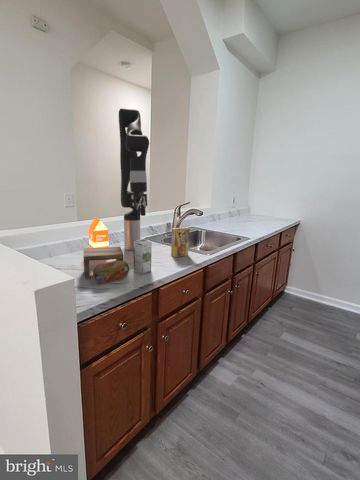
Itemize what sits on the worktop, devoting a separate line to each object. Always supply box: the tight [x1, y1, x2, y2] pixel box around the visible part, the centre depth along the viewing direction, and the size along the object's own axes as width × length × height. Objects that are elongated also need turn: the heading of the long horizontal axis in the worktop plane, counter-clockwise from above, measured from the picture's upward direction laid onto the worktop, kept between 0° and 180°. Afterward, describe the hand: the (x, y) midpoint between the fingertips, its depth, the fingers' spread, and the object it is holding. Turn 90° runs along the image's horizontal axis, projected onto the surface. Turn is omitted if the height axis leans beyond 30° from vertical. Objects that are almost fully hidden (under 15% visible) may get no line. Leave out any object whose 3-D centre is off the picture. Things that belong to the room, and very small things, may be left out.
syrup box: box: [133, 238, 153, 275], centre depth 124 cm, size 6×6×14 cm
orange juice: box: [87, 217, 110, 248], centre depth 143 cm, size 8×9×20 cm
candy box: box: [170, 226, 190, 258], centre depth 149 cm, size 9×4×15 cm, turn 119°
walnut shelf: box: [83, 246, 124, 280], centre depth 121 cm, size 12×16×10 cm
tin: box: [92, 259, 130, 285], centre depth 113 cm, size 15×3×8 cm, turn 126°
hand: (139, 216), depth 129 cm, fingers open, 8 cm apart
